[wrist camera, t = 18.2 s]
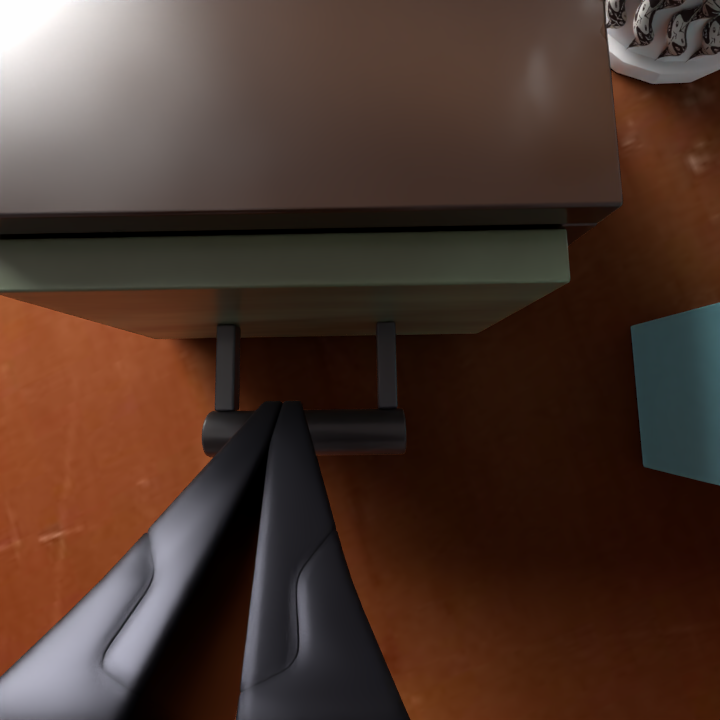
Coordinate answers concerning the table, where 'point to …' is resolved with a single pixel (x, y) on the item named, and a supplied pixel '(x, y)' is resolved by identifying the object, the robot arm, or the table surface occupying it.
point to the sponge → (680, 392)
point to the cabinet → (304, 115)
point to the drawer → (294, 298)
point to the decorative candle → (664, 39)
